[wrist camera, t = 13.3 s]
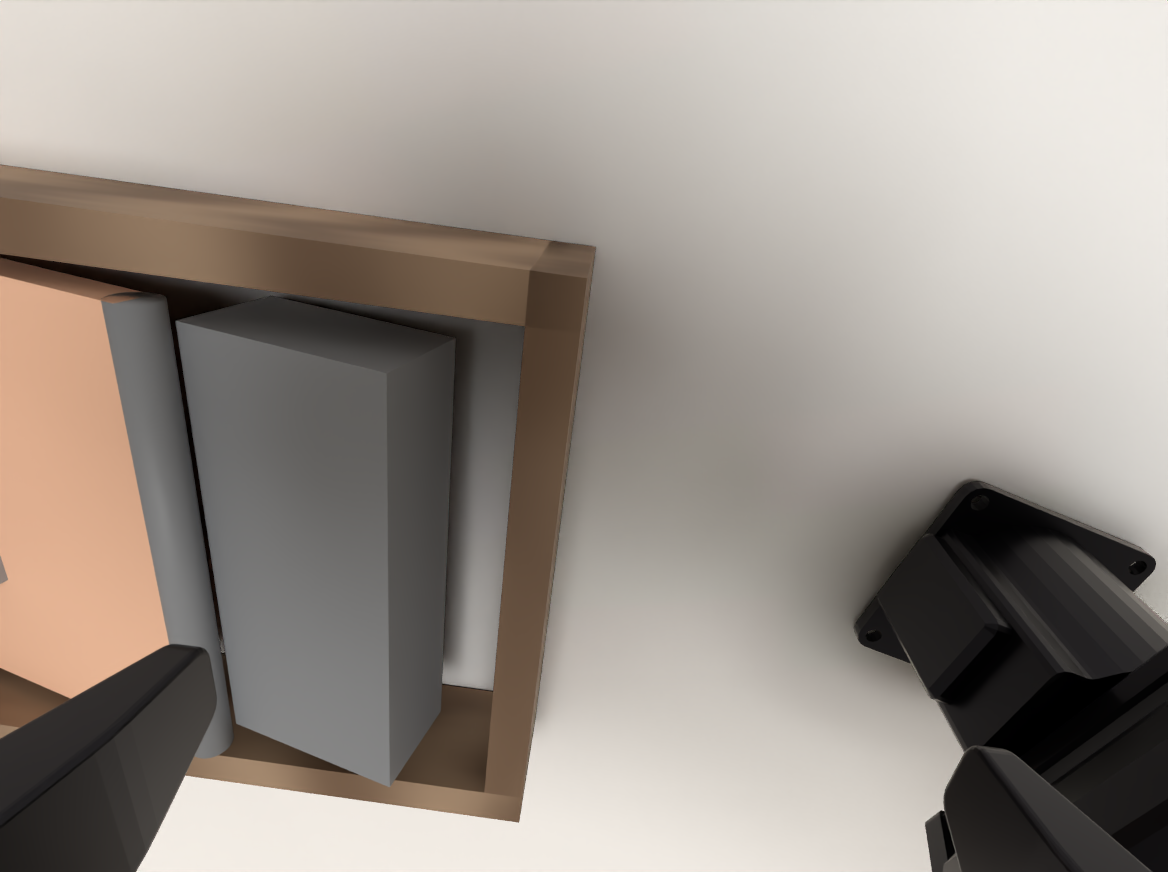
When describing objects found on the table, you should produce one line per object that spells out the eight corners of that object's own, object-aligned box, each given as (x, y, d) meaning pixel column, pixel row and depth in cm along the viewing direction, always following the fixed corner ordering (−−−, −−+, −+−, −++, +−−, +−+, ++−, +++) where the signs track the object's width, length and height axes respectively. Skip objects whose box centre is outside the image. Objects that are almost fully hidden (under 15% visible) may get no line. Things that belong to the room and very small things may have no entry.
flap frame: (595, 247, 17) (587, 278, 13) (534, 720, 25) (519, 822, 21) (-337, 118, 17) (-594, 114, 14) (-112, 630, 25) (-239, 715, 21)
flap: (456, 318, 16) (353, 365, 12) (440, 721, 22) (367, 832, 18) (-113, 192, 21) (-308, 200, 17) (2, 554, 27) (-124, 617, 23)
